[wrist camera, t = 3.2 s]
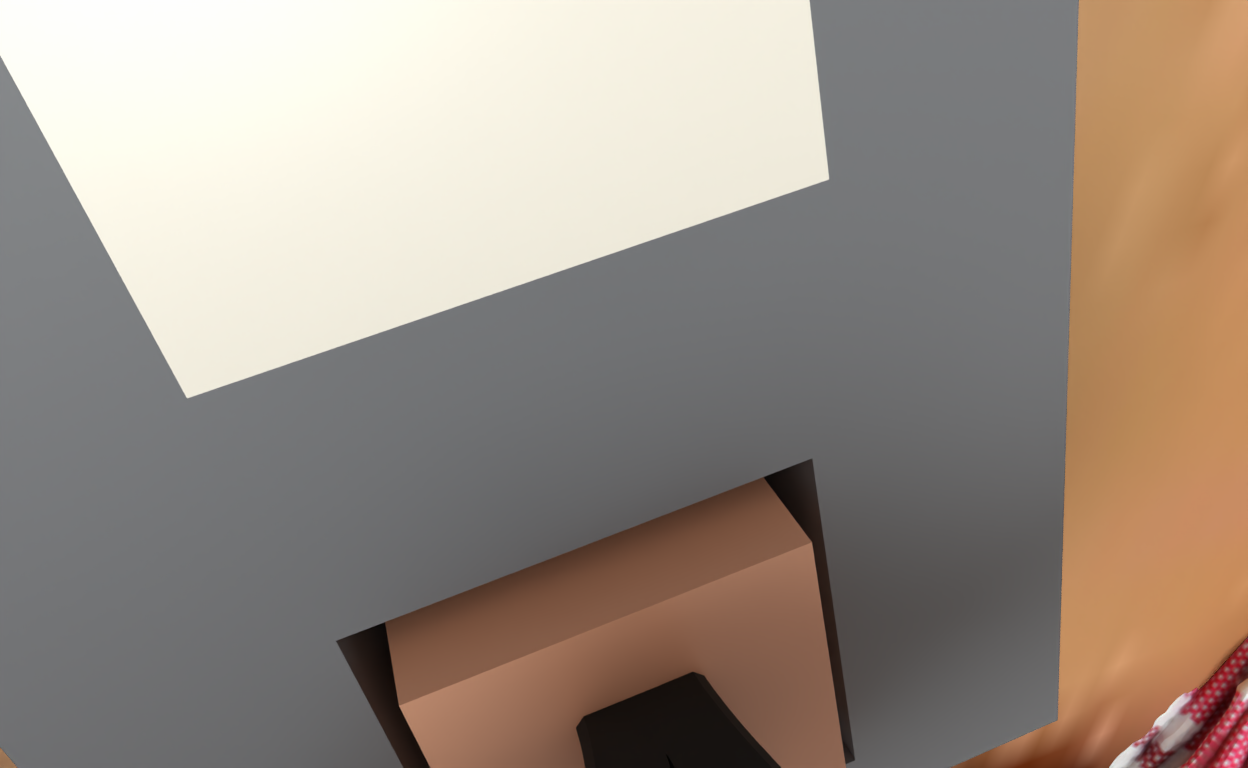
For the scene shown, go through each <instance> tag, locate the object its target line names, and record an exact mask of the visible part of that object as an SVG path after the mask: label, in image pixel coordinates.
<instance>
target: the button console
mask: <svg viewBox="0 0 1248 768" xmlns="http://www.w3.org/2000/svg"><path fill="white" fill-rule="evenodd" d="M1078 5H1079V0H810V9H811V18H812V27H813V36H814V46H815V55H816V64H817V73H818V82H819V91H820V100H821V109H822V118H823V127H824V136H825V145H826V155H827V164H828V173H829V180H826V181H823V182H820V183H817V184H814V185H811V186H808V187H806V188H803V189H800V190H797V191H794V192H791V193H788V194H785V195H782V196H779V197H776V198H773V199H770V200H767V201H765V202H762V203H759V204H756V205H753V206H750V207H747V208H744V209H741V210H738V211H735V212H732V213H729V214H726V215H723V216H721V217H718V218H715V219H712V220H709V221H706V222H703V223H700V224H697V225H694V226H691V227H688V228H685V229H682V230H679V231H677V232H674V233H671V234H668V235H665V236H662V237H659V238H656V239H653V240H650V241H647V242H644V243H641V244H638V245H636V246H633V247H630V248H627V249H624V250H621V251H618V252H615V253H612V254H609V255H606V256H603V257H600V258H597V259H594V260H592V261H589V262H586V263H583V264H580V265H577V266H574V267H571V268H568V269H565V270H562V271H559V272H556V273H553V274H550V275H548V276H545V277H542V278H539V279H536V280H533V281H530V282H527V283H524V284H521V285H518V286H515V287H512V288H509V289H507V290H504V291H501V292H498V293H495V294H492V295H489V296H486V297H483V298H480V299H477V300H474V301H471V302H468V303H465V304H463V305H460V306H457V307H454V308H451V309H448V310H445V311H442V312H439V313H436V314H433V315H430V316H427V317H424V318H421V319H419V320H416V321H413V322H410V323H407V324H404V325H401V326H398V327H395V328H392V329H389V330H386V331H383V332H380V333H378V334H375V335H372V336H369V337H366V338H363V339H360V340H357V341H354V342H351V343H348V344H345V345H342V346H339V347H336V348H334V349H331V350H328V351H325V352H322V353H319V354H316V355H313V356H310V357H307V358H304V359H301V360H298V361H295V362H292V363H290V364H287V365H284V366H281V367H278V368H275V369H272V370H269V371H266V372H263V373H260V374H257V375H254V376H251V377H249V378H246V379H243V380H240V381H237V382H234V383H231V384H228V385H225V386H222V387H219V388H216V389H213V390H210V391H207V392H205V393H202V394H199V395H196V396H193V397H190V398H187V397H186V396H185V394H184V392H183V390H182V388H181V386H180V385H179V383H178V381H177V379H176V377H175V375H174V374H173V372H172V370H171V368H170V366H169V364H168V363H167V361H166V359H165V357H164V355H163V353H162V352H161V350H160V348H159V346H158V344H157V342H156V341H155V339H154V337H153V335H152V333H151V331H150V329H149V328H148V326H147V324H146V322H145V320H144V318H143V317H142V315H141V313H140V311H139V309H138V307H137V306H136V304H135V302H134V300H133V298H132V296H131V295H130V293H129V291H128V289H127V287H126V285H125V284H124V282H123V280H122V278H121V276H120V274H119V273H118V271H117V269H116V267H115V265H114V263H113V262H112V260H111V258H110V256H109V254H108V252H107V251H106V249H105V247H104V245H103V243H102V241H101V240H100V238H99V236H98V234H97V232H96V230H95V229H94V227H93V225H92V223H91V221H90V219H89V218H88V216H87V214H86V212H85V210H84V208H83V207H82V205H81V203H80V201H79V199H78V197H77V195H76V194H75V192H74V190H73V188H72V186H71V184H70V183H69V181H68V179H67V177H66V175H65V173H64V172H63V170H62V168H61V166H60V164H59V162H58V161H57V159H56V157H55V155H54V153H53V151H52V150H51V148H50V146H49V144H48V142H47V140H46V139H45V137H44V135H43V133H42V131H41V129H40V128H39V126H38V124H37V122H36V120H35V118H34V117H33V115H32V113H31V111H30V109H29V107H28V106H27V104H26V102H25V100H24V98H23V96H22V95H21V93H20V91H19V89H18V87H17V85H16V84H15V82H14V80H13V78H12V76H11V74H10V73H9V71H8V69H7V67H6V65H5V63H4V61H3V60H2V58H1V56H0V748H1V749H2V750H3V751H4V752H5V753H6V755H7V756H8V757H9V758H10V759H11V760H12V762H13V763H14V764H15V765H16V766H17V767H18V768H430V766H429V764H428V762H427V760H426V758H425V756H424V754H423V752H422V750H421V748H420V746H419V744H418V742H417V740H416V738H415V736H414V734H413V732H412V730H411V729H410V727H409V725H408V723H407V721H406V719H405V717H404V715H403V713H402V711H401V709H400V707H399V703H398V697H397V691H396V685H395V679H394V673H393V666H392V660H391V654H390V648H389V642H388V636H387V630H386V624H385V622H386V621H389V620H392V619H394V618H397V617H399V616H402V615H405V614H407V613H410V612H412V611H415V610H418V609H420V608H423V607H426V606H428V605H431V604H433V603H436V602H439V601H441V600H444V599H446V598H449V597H452V596H454V595H457V594H459V593H462V592H465V591H467V590H470V589H473V588H475V587H478V586H480V585H483V584H486V583H488V582H491V581H493V580H496V579H499V578H501V577H504V576H506V575H509V574H512V573H514V572H517V571H519V570H522V569H525V568H527V567H530V566H533V565H535V564H538V563H540V562H543V561H546V560H548V559H551V558H553V557H556V556H559V555H561V554H564V553H566V552H569V551H572V550H574V549H577V548H579V547H582V546H585V545H587V544H590V543H593V542H595V541H598V540H600V539H603V538H606V537H608V536H611V535H613V534H616V533H619V532H621V531H624V530H626V529H629V528H632V527H634V526H637V525H639V524H642V523H645V522H647V521H650V520H653V519H655V518H658V517H660V516H663V515H666V514H668V513H671V512H673V511H676V510H679V509H681V508H684V507H686V506H689V505H692V504H694V503H697V502H700V501H702V500H705V499H707V498H710V497H713V496H715V495H718V494H720V493H723V492H726V491H728V490H731V489H733V488H736V487H739V486H741V485H744V484H746V483H749V482H752V481H754V480H757V479H760V478H762V477H764V479H765V480H766V481H767V483H768V484H769V485H770V487H771V488H772V489H773V491H774V492H775V493H776V495H777V496H778V497H779V499H780V500H781V501H782V503H783V504H784V506H785V507H786V508H787V510H788V511H789V512H790V514H791V515H792V516H793V518H794V519H795V520H796V522H797V523H798V524H799V526H800V527H801V528H802V530H803V531H804V532H805V534H806V535H807V536H808V538H809V539H810V540H811V542H812V546H813V552H814V559H815V565H816V572H817V579H818V585H819V592H820V599H821V605H822V612H823V618H824V625H825V632H826V638H827V645H828V651H829V658H830V665H831V671H832V678H833V684H834V691H835V698H836V704H837V711H838V717H839V724H840V731H841V737H842V744H843V751H844V757H845V764H846V768H950V767H952V766H955V765H957V764H959V763H961V762H964V761H966V760H968V759H970V758H973V757H975V756H977V755H980V754H982V753H984V752H986V751H989V750H991V749H993V748H995V747H998V746H1000V745H1002V744H1005V743H1007V742H1009V741H1011V740H1014V739H1016V738H1018V737H1020V736H1023V735H1025V734H1027V733H1030V732H1032V731H1034V730H1036V729H1039V728H1041V727H1043V726H1045V725H1048V724H1050V723H1052V722H1054V721H1057V720H1058V689H1059V655H1060V620H1061V586H1062V552H1063V518H1064V484H1065V449H1066V415H1067V381H1068V347H1069V313H1070V279H1071V244H1072V210H1073V176H1074V142H1075V108H1076V73H1077V39H1078Z"/></svg>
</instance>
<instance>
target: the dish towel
mask: <svg viewBox="0 0 1248 768" xmlns="http://www.w3.org/2000/svg"><path fill="white" fill-rule="evenodd" d="M1109 768H1248V637H1247V638H1246V639H1245V641H1244V642H1243V643H1242V644H1241V645H1240V646H1239V647H1238V649H1237V650H1236V651H1235V652H1234V653H1233V654H1232V655H1231V656H1230V658H1229V659H1228V660H1227V661H1226V662H1225V663H1224V664H1223V665H1222V666H1221V668H1220V669H1219V670H1218V671H1217V672H1216V673H1215V674H1214V675H1213V676H1212V677H1211V678H1210V679H1209V680H1208V681H1207V682H1206V684H1205V685H1204V686H1203V687H1201V688H1200V689H1199V690H1198V689H1197V688H1195V689H1194V690H1192V691H1191V692H1190V693H1184V694H1183V695H1181V696H1180V697H1179V698H1177V699H1176V700H1175V701H1174V703H1173V704H1172V705H1171V706H1170V707H1169V708H1168V710H1167V712H1165V713H1164V714H1162V715H1161V716H1160V717H1159V718H1158V719H1157V720H1156V721H1155V723H1154V726H1153V727H1152V729H1151V730H1150V731H1149V732H1148V733H1147V734H1146V735H1145V736H1144V737H1143V738H1141V739H1140V740H1138V741H1136V742H1134V743H1133V744H1131V745H1130V746H1129V747H1128V748H1127V749H1126V750H1125V751H1124V752H1122V753H1121V754H1120V755H1119V756H1118V757H1117V758H1116V759H1115V760H1114V762H1113V763H1112V764H1111V766H1110V767H1109Z"/></svg>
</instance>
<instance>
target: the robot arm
mask: <svg viewBox="0 0 1248 768" xmlns="http://www.w3.org/2000/svg"><path fill="white" fill-rule="evenodd" d="M576 730H577V734H578V737H579V741H580V745H581V749H582V754H583V759H584V764H585V768H781V767H780V766H779V765H778V763H777V762H776V761H775V760H774V759H773V758H772V757H771V756H770V755H769V754H768V753H767V752H766V750H765V749H764V748H763V747H762V746H761V745H760V744H759V743H758V742H757V741H756V740H755V738H754V737H753V736H752V735H751V734H750V733H749V732H748V730H747V729H746V728H745V727H744V726H743V725H742V724H741V722H740V721H739V720H738V719H737V718H736V716H735V715H734V714H733V713H732V712H731V710H730V709H729V708H728V707H727V705H726V704H725V703H724V702H723V700H722V699H721V698H720V696H719V695H718V694H717V693H716V691H715V690H714V689H713V687H712V686H711V684H710V683H709V682H708V680H707V679H706V677H705V676H704V675H701V674H698V673H695V672H691V673H688V674H686V675H683V676H681V677H679V678H676V679H674V680H671V681H669V682H666V683H664V684H662V685H659V686H657V687H654V688H652V689H650V690H647V691H645V692H642V693H640V694H637V695H635V696H632V697H630V698H627V699H625V700H623V701H620V702H618V703H615V704H613V705H610V706H608V707H605V708H603V709H601V710H598V711H596V712H593V713H591V714H588V715H586V716H584V717H583V718H582V719H581V721H580V722H579V724H578V725H577V727H576Z"/></svg>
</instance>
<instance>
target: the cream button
mask: <svg viewBox="0 0 1248 768" xmlns="http://www.w3.org/2000/svg"><path fill="white" fill-rule="evenodd" d="M0 56H1V58H2V60H3V61H4V63H5V65H6V67H7V69H8V71H9V73H10V74H11V76H12V78H13V80H14V82H15V84H16V85H17V87H18V89H19V91H20V93H21V95H22V96H23V98H24V100H25V102H26V104H27V106H28V107H29V109H30V111H31V113H32V115H33V117H34V118H35V120H36V122H37V124H38V126H39V128H40V129H41V131H42V133H43V135H44V137H45V139H46V140H47V142H48V144H49V146H50V148H51V150H52V151H53V153H54V155H55V157H56V159H57V161H58V162H59V164H60V166H61V168H62V170H63V172H64V173H65V175H66V177H67V179H68V181H69V183H70V184H71V186H72V188H73V190H74V192H75V194H76V195H77V197H78V199H79V201H80V203H81V205H82V207H83V208H84V210H85V212H86V214H87V216H88V218H89V219H90V221H91V223H92V225H93V227H94V229H95V230H96V232H97V234H98V236H99V238H100V240H101V241H102V243H103V245H104V247H105V249H106V251H107V252H108V254H109V256H110V258H111V260H112V262H113V263H114V265H115V267H116V269H117V271H118V273H119V274H120V276H121V278H122V280H123V282H124V284H125V285H126V287H127V289H128V291H129V293H130V295H131V296H132V298H133V300H134V302H135V304H136V306H137V307H138V309H139V311H140V313H141V315H142V317H143V318H144V320H145V322H146V324H147V326H148V328H149V329H150V331H151V333H152V335H153V337H154V339H155V341H156V342H157V344H158V346H159V348H160V350H161V352H162V353H163V355H164V357H165V359H166V361H167V363H168V364H169V366H170V368H171V370H172V372H173V374H174V375H175V377H176V379H177V381H178V383H179V385H180V386H181V388H182V390H183V392H184V394H185V396H186V397H187V398H190V397H193V396H196V395H199V394H202V393H205V392H207V391H210V390H213V389H216V388H219V387H222V386H225V385H228V384H231V383H234V382H237V381H240V380H243V379H246V378H249V377H251V376H254V375H257V374H260V373H263V372H266V371H269V370H272V369H275V368H278V367H281V366H284V365H287V364H290V363H292V362H295V361H298V360H301V359H304V358H307V357H310V356H313V355H316V354H319V353H322V352H325V351H328V350H331V349H334V348H336V347H339V346H342V345H345V344H348V343H351V342H354V341H357V340H360V339H363V338H366V337H369V336H372V335H375V334H378V333H380V332H383V331H386V330H389V329H392V328H395V327H398V326H401V325H404V324H407V323H410V322H413V321H416V320H419V319H421V318H424V317H427V316H430V315H433V314H436V313H439V312H442V311H445V310H448V309H451V308H454V307H457V306H460V305H463V304H465V303H468V302H471V301H474V300H477V299H480V298H483V297H486V296H489V295H492V294H495V293H498V292H501V291H504V290H507V289H509V288H512V287H515V286H518V285H521V284H524V283H527V282H530V281H533V280H536V279H539V278H542V277H545V276H548V275H550V274H553V273H556V272H559V271H562V270H565V269H568V268H571V267H574V266H577V265H580V264H583V263H586V262H589V261H592V260H594V259H597V258H600V257H603V256H606V255H609V254H612V253H615V252H618V251H621V250H624V249H627V248H630V247H633V246H636V245H638V244H641V243H644V242H647V241H650V240H653V239H656V238H659V237H662V236H665V235H668V234H671V233H674V232H677V231H679V230H682V229H685V228H688V227H691V226H694V225H697V224H700V223H703V222H706V221H709V220H712V219H715V218H718V217H721V216H723V215H726V214H729V213H732V212H735V211H738V210H741V209H744V208H747V207H750V206H753V205H756V204H759V203H762V202H765V201H767V200H770V199H773V198H776V197H779V196H782V195H785V194H788V193H791V192H794V191H797V190H800V189H803V188H806V187H808V186H811V185H814V184H817V183H820V182H823V181H826V180H829V173H828V164H827V155H826V145H825V136H824V127H823V118H822V109H821V100H820V91H819V82H818V73H817V64H816V55H815V46H814V36H813V27H812V18H811V9H810V0H0Z"/></svg>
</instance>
